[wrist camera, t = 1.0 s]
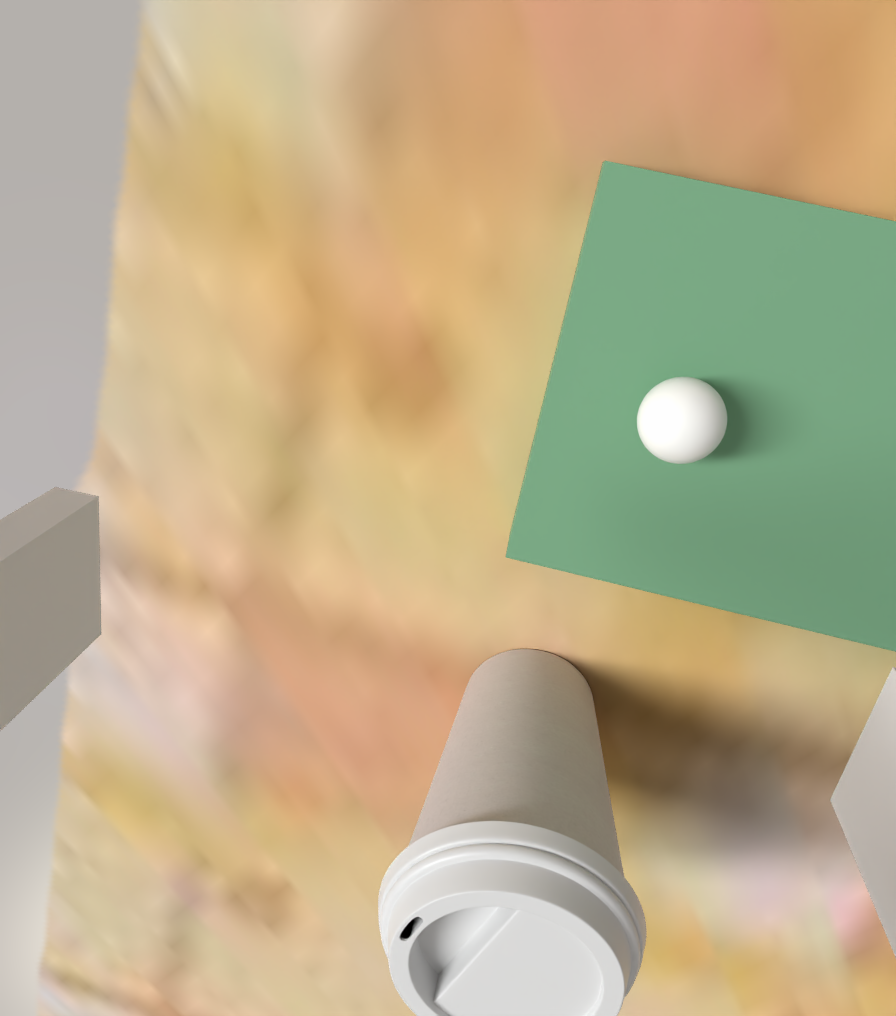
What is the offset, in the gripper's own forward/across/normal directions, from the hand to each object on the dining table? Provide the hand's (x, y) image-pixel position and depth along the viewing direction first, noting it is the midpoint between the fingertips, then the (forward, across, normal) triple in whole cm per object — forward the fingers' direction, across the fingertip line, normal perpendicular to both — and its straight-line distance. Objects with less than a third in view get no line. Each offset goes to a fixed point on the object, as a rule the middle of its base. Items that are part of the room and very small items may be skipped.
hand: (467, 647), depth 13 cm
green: (+22, +14, 0) cm, 26 cm away
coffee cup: (+22, +3, -17) cm, 28 cm away
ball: (+18, +6, 0) cm, 19 cm away
